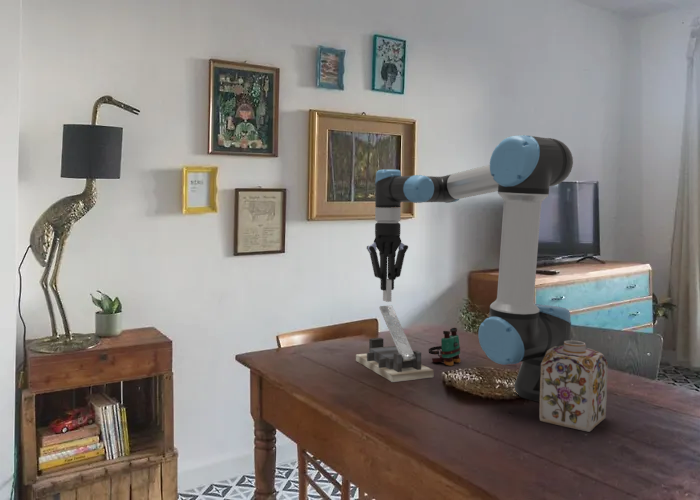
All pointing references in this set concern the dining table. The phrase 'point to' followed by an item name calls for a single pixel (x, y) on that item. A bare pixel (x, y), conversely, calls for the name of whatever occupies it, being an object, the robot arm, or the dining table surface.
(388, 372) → the heatsink mount
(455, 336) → the binoculars
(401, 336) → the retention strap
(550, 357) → the decorative jar
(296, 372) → the dining table surface
